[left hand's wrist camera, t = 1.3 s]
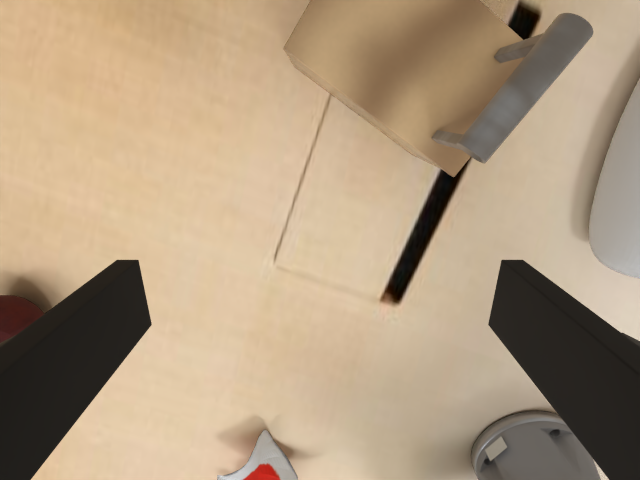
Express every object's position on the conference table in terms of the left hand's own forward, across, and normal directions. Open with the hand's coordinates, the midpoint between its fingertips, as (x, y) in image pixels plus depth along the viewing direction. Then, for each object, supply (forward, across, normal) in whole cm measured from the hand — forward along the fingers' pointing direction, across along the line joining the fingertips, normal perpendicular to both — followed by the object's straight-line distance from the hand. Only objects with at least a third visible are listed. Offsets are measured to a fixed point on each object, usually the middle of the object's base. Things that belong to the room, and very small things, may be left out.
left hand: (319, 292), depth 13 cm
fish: (+25, +9, +42) cm, 49 cm away
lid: (+16, -6, -10) cm, 19 cm away
